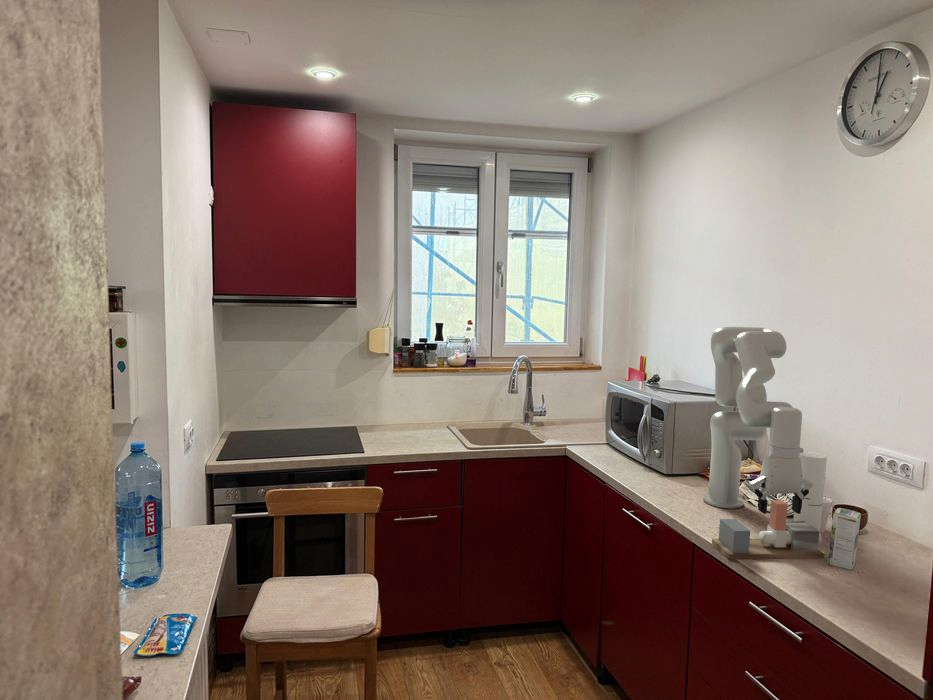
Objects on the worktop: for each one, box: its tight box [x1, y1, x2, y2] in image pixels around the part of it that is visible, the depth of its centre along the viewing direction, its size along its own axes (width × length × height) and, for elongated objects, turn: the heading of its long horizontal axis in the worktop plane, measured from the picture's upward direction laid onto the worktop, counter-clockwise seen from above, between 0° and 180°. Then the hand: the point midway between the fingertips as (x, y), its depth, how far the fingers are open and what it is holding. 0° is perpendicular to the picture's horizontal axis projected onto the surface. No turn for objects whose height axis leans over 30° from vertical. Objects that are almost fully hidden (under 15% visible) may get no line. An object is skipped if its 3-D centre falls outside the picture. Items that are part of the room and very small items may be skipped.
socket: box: [718, 518, 751, 553], centre depth 175 cm, size 8×4×6 cm, turn 3°
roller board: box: [711, 520, 825, 561], centre depth 175 cm, size 10×27×7 cm, turn 93°
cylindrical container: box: [792, 450, 828, 531], centre depth 185 cm, size 7×7×25 cm
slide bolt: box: [758, 499, 823, 547], centre depth 175 cm, size 5×16×12 cm, turn 93°
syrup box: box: [827, 507, 862, 571], centre depth 168 cm, size 6×6×14 cm
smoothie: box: [820, 496, 833, 533], centre depth 191 cm, size 6×6×14 cm
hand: (779, 512), depth 174 cm, fingers open, 9 cm apart
